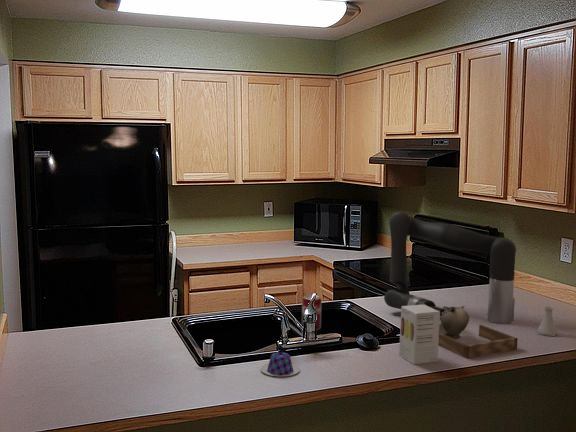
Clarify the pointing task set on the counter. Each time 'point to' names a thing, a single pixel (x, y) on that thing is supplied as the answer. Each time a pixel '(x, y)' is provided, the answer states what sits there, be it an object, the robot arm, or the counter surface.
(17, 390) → the counter surface
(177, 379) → the counter surface
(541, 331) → the flask
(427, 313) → the supplement box
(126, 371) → the counter surface
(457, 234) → the robot arm
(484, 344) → the frame
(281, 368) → the pudding
